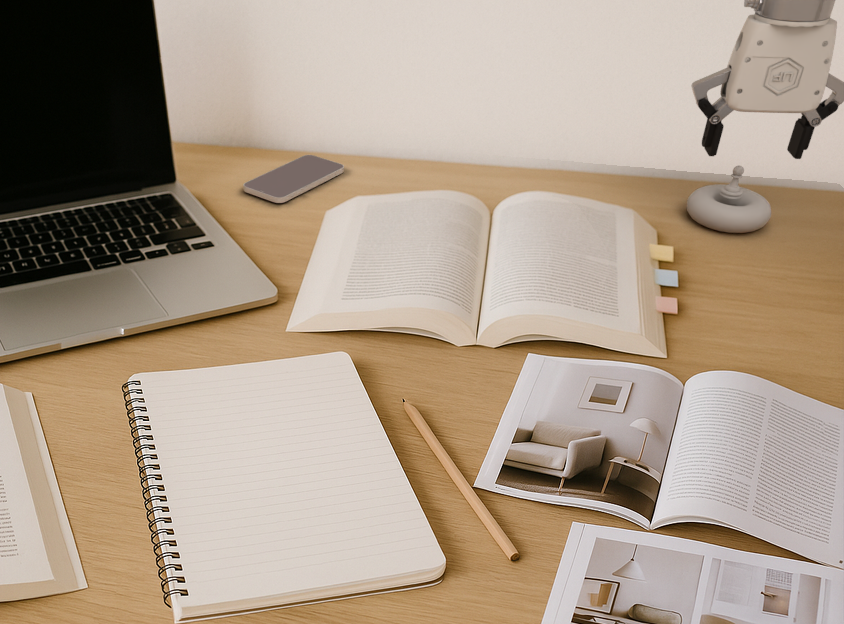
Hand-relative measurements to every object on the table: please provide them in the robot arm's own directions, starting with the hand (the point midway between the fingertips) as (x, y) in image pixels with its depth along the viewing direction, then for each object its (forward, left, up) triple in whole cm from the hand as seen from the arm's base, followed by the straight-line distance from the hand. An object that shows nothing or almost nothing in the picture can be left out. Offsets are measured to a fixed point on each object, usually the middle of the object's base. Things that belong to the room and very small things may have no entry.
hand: (751, 153), depth 103 cm
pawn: (+1, 0, -6) cm, 6 cm away
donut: (+1, 0, -9) cm, 9 cm away
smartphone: (+58, -3, -9) cm, 58 cm away
